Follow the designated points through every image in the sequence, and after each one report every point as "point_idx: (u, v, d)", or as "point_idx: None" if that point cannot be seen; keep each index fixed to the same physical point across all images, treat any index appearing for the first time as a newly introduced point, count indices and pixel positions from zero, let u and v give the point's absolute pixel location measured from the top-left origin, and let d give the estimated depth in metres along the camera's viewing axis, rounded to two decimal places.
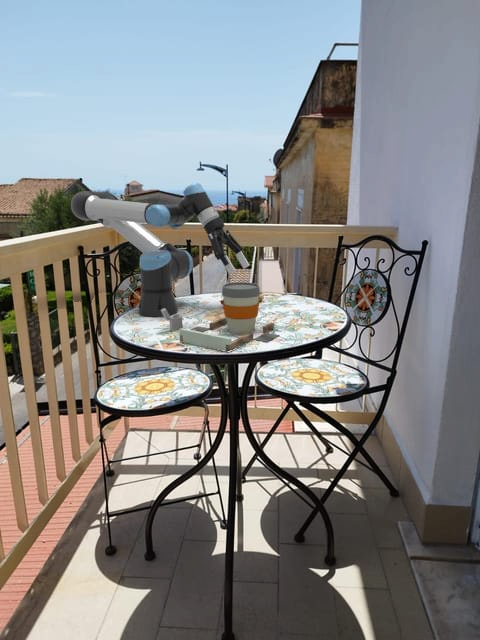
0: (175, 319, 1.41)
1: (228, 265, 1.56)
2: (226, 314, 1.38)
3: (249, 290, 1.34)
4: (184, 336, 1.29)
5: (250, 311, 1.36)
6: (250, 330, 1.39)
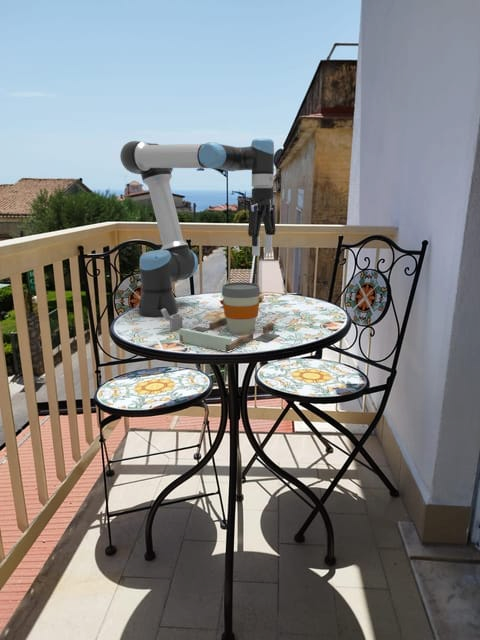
0: (175, 319, 1.41)
1: (255, 247, 1.47)
2: (226, 314, 1.38)
3: (249, 290, 1.34)
4: (184, 336, 1.29)
5: (250, 311, 1.36)
6: (250, 330, 1.39)
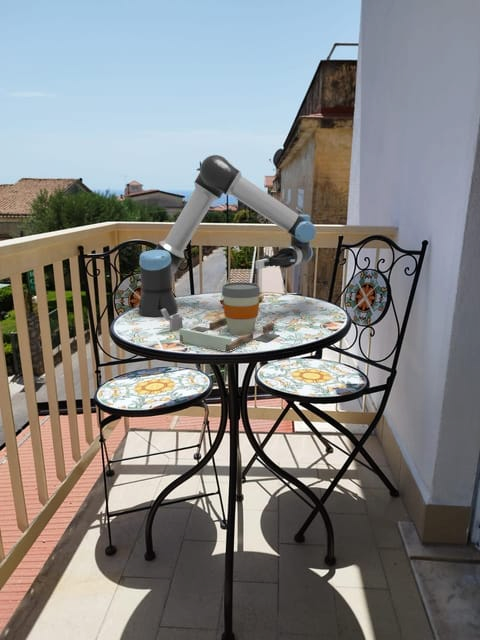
0: (175, 319, 1.41)
1: (263, 264, 1.48)
2: (226, 314, 1.38)
3: (249, 290, 1.34)
4: (184, 336, 1.29)
5: (250, 311, 1.36)
6: (250, 330, 1.39)
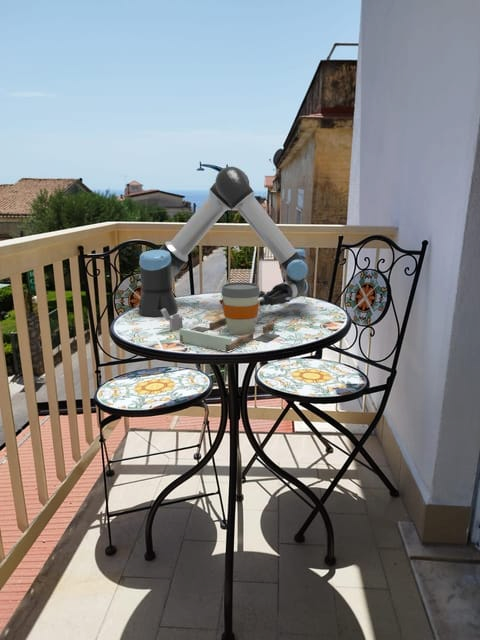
0: (175, 319, 1.41)
1: (259, 304, 1.47)
2: (226, 314, 1.38)
3: (249, 290, 1.33)
4: (184, 336, 1.29)
5: (250, 311, 1.36)
6: (250, 330, 1.39)
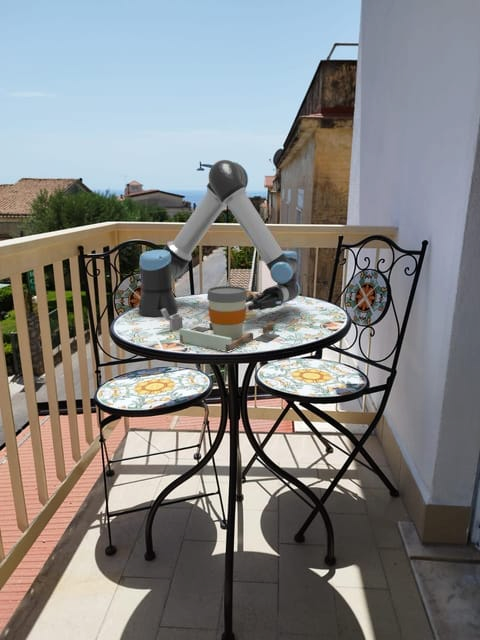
0: (175, 319, 1.41)
1: (247, 308, 1.41)
2: (211, 319, 1.32)
3: (234, 294, 1.27)
4: (184, 336, 1.29)
5: (236, 316, 1.30)
6: (236, 336, 1.33)
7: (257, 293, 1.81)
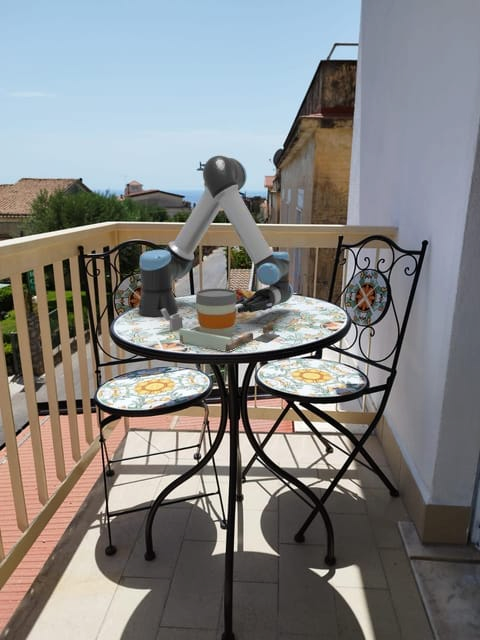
0: (175, 319, 1.41)
1: (237, 311, 1.37)
2: (200, 323, 1.28)
3: (225, 297, 1.24)
4: (184, 336, 1.29)
5: (226, 319, 1.26)
6: None
7: None
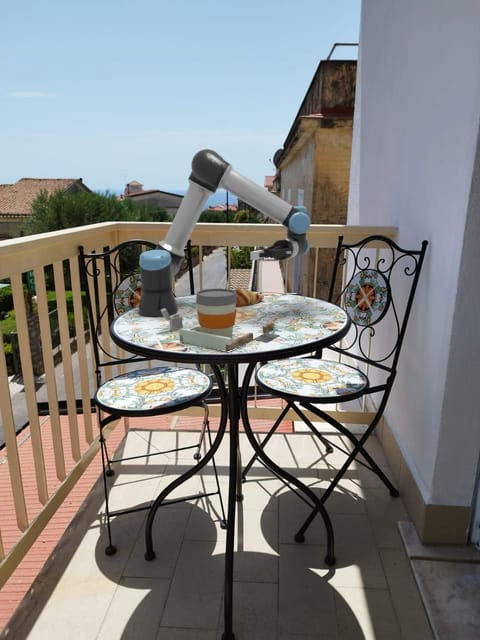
0: (175, 319, 1.41)
1: (258, 255, 1.44)
2: (200, 323, 1.28)
3: (225, 297, 1.24)
4: (184, 336, 1.29)
5: (226, 320, 1.26)
6: None
7: (257, 293, 1.81)
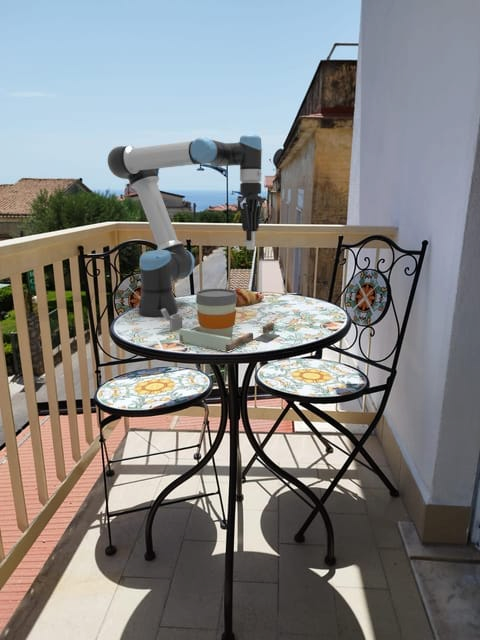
0: (175, 319, 1.41)
1: (250, 241, 1.56)
2: (200, 323, 1.28)
3: (225, 297, 1.24)
4: (184, 336, 1.29)
5: (226, 320, 1.26)
6: None
7: (257, 293, 1.81)
